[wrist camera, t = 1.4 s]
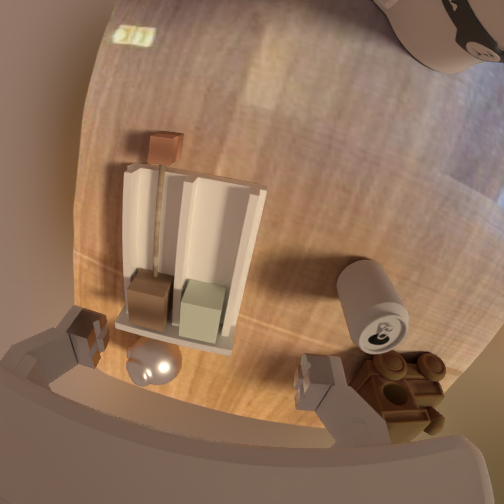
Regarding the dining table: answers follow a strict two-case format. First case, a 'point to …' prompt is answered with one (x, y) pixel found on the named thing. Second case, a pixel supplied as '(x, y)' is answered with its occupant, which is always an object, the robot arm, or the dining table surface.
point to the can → (372, 307)
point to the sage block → (201, 311)
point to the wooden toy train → (403, 393)
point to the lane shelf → (190, 241)
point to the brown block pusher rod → (155, 248)
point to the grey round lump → (153, 361)
